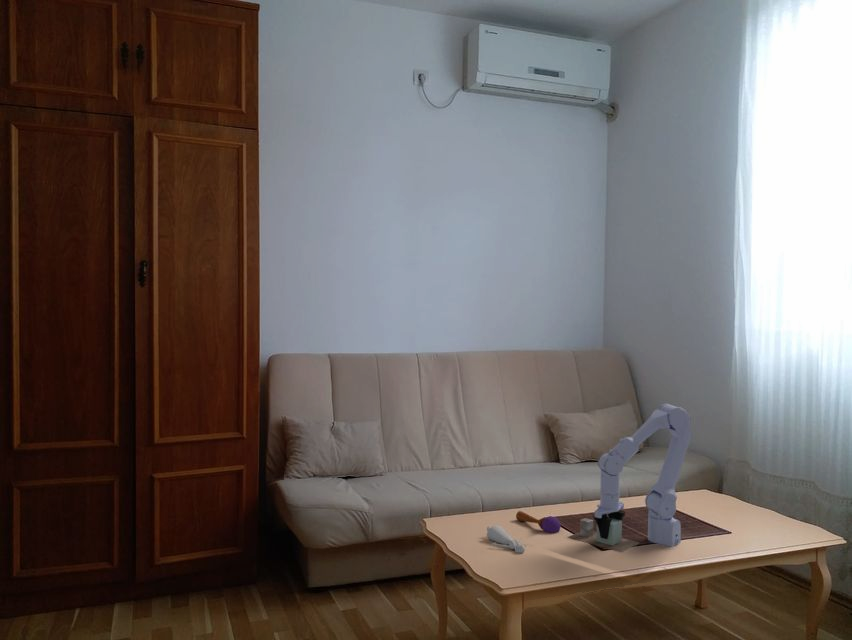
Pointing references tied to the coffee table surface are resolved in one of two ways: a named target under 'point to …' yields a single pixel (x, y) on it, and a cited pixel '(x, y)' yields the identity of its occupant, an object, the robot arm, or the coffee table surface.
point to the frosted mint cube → (612, 533)
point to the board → (591, 537)
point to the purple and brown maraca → (541, 522)
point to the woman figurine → (503, 539)
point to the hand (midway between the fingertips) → (609, 535)
